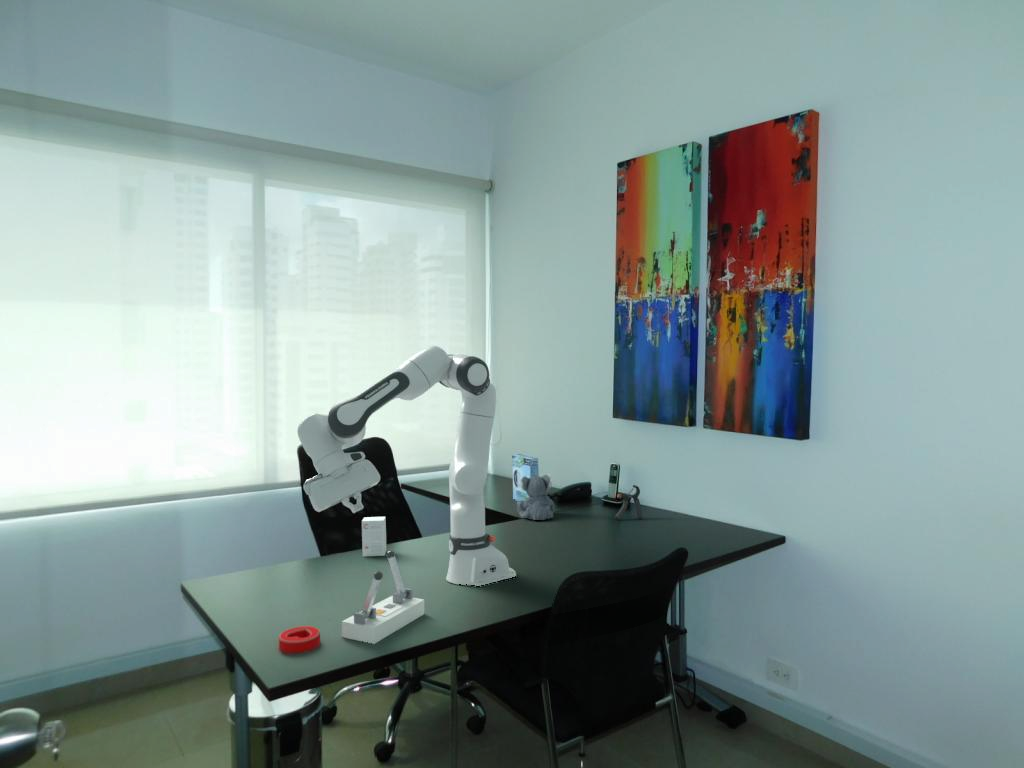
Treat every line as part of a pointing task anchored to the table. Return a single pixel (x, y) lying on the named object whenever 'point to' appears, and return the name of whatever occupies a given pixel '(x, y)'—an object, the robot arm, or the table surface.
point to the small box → (374, 536)
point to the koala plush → (536, 498)
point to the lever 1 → (372, 594)
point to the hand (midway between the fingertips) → (358, 510)
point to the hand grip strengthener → (626, 500)
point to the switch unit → (383, 618)
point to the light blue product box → (522, 473)
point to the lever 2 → (396, 574)
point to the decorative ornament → (299, 639)
